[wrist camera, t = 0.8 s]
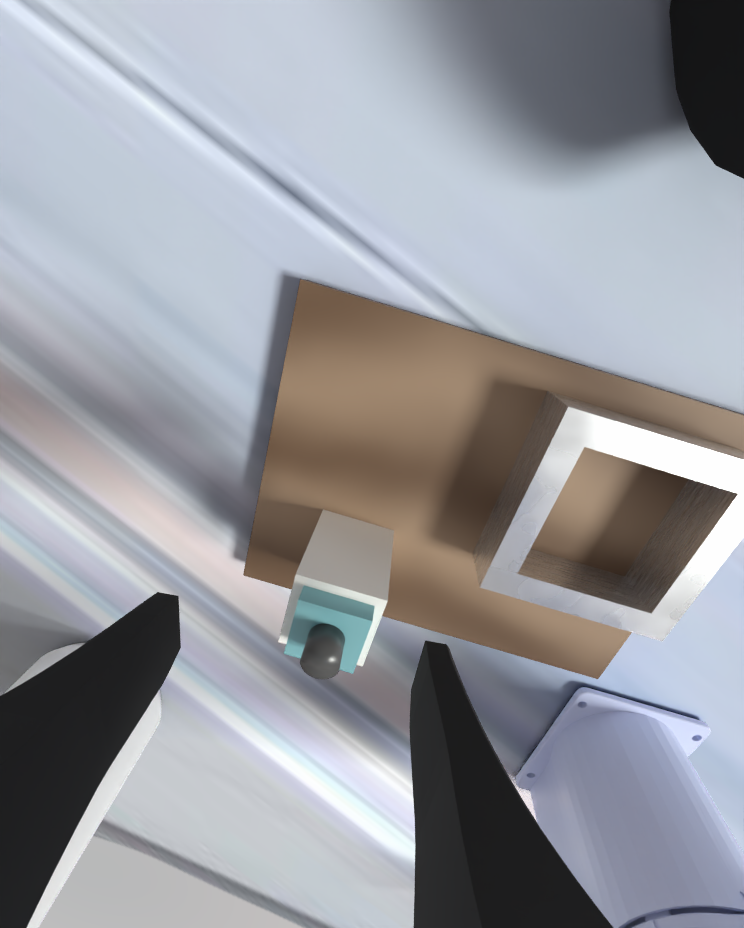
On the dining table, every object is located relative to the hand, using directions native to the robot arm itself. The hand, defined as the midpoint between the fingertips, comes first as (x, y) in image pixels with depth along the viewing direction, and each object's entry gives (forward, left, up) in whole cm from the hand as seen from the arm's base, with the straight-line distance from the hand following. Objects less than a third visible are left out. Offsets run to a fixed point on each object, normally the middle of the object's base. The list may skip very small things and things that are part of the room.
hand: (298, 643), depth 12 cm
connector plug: (-3, -1, -9) cm, 9 cm away
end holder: (+4, -11, -9) cm, 14 cm away
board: (+2, -6, -10) cm, 11 cm away
